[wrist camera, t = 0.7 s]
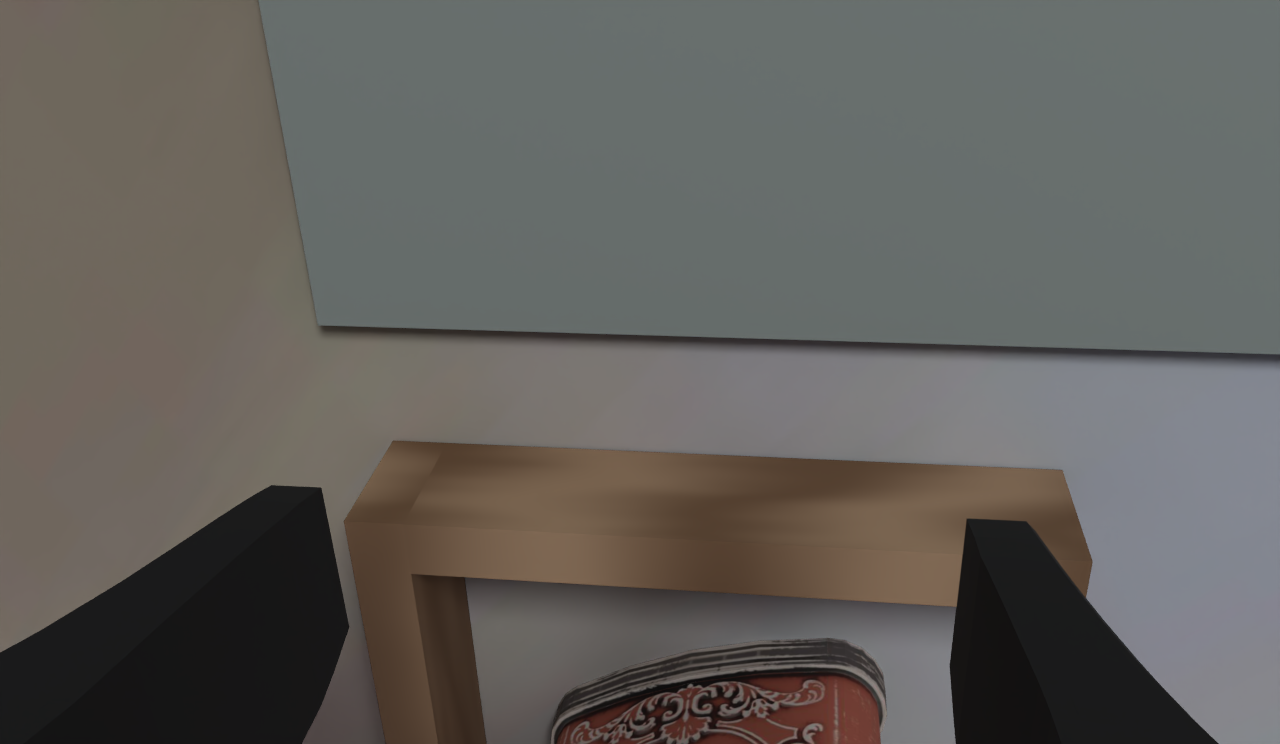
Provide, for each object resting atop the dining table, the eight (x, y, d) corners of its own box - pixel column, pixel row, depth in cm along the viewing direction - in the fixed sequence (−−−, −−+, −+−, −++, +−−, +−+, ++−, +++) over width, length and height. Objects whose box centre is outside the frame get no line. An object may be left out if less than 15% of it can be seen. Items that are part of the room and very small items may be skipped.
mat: (1528, -203, 17) (1546, -201, 17) (1368, 344, 21) (1379, 357, 21) (241, -164, 20) (228, -162, 19) (327, 314, 24) (318, 325, 24)
